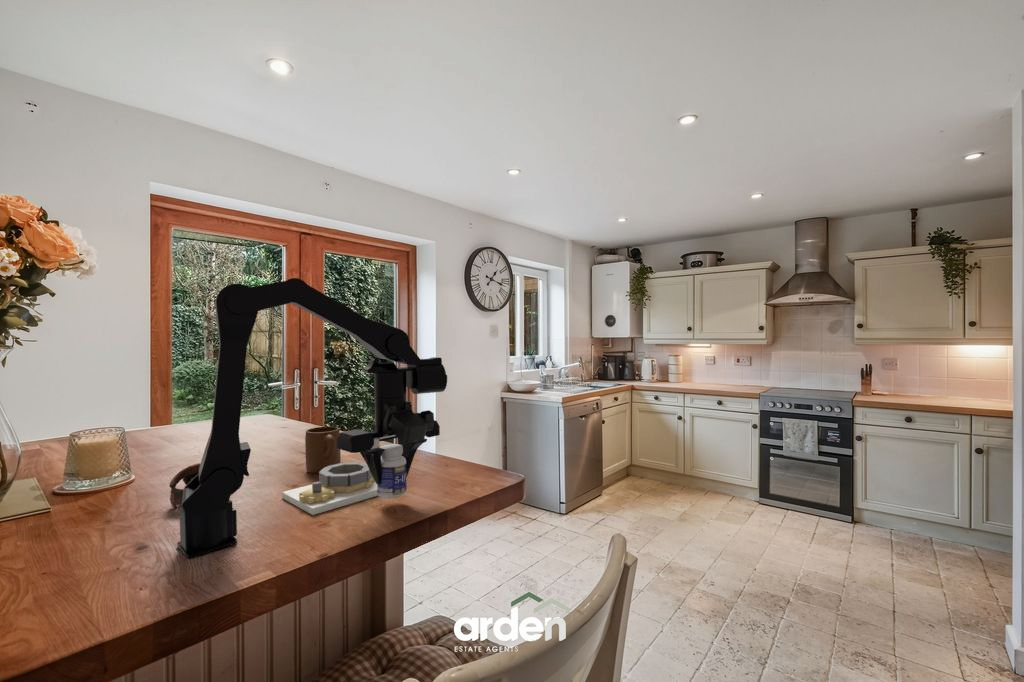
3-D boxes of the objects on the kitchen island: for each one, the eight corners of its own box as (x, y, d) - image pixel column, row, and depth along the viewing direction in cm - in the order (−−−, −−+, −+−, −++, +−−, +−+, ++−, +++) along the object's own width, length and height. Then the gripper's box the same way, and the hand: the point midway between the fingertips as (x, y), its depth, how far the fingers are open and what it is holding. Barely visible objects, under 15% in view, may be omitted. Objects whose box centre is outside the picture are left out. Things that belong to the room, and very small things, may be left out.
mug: (350, 474, 107) (349, 433, 107) (315, 481, 103) (314, 437, 103) (335, 462, 117) (334, 424, 117) (302, 468, 113) (301, 428, 113)
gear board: (311, 515, 84) (311, 490, 84) (281, 498, 93) (281, 475, 93) (390, 491, 96) (390, 469, 96) (357, 478, 104) (357, 458, 104)
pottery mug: (243, 499, 94) (227, 470, 90) (194, 534, 88) (173, 504, 83) (215, 474, 100) (198, 445, 96) (167, 505, 94) (147, 476, 90)
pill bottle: (399, 500, 85) (398, 450, 85) (372, 498, 86) (371, 449, 86) (411, 490, 90) (410, 443, 90) (385, 488, 91) (384, 442, 91)
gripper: (368, 407, 76) (370, 504, 76) (457, 394, 89) (458, 477, 90) (334, 400, 83) (336, 489, 83) (421, 390, 97) (422, 466, 97)
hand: (391, 480), depth 88 cm, fingers closed on pill bottle, 5 cm apart
